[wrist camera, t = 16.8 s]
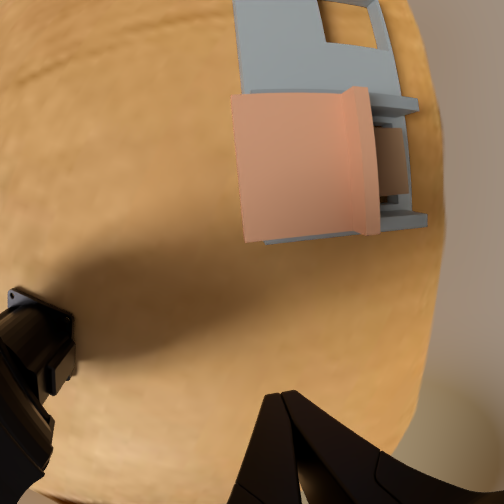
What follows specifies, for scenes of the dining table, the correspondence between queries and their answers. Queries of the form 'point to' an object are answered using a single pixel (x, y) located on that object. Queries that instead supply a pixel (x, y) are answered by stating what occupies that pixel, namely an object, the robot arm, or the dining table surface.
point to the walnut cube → (391, 161)
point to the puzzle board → (324, 76)
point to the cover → (306, 164)
